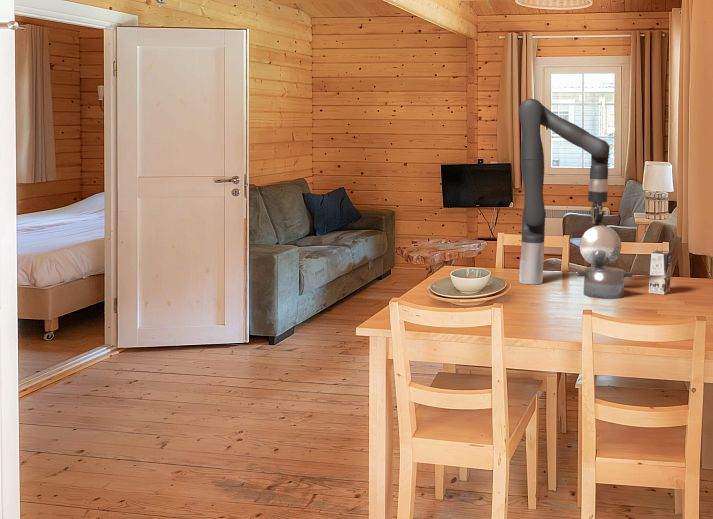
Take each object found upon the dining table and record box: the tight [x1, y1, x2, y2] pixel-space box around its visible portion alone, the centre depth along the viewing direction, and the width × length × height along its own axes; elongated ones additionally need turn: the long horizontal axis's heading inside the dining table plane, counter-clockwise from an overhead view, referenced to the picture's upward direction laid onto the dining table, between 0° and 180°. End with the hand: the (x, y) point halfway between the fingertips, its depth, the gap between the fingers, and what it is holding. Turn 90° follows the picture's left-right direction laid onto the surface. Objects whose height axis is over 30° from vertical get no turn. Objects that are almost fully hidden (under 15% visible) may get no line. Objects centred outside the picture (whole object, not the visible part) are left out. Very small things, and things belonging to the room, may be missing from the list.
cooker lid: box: [579, 224, 622, 266], centre depth 362 cm, size 16×16×4 cm
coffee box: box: [648, 250, 673, 295], centre depth 361 cm, size 9×6×16 cm
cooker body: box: [576, 265, 633, 300], centre depth 355 cm, size 21×17×10 cm
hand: (595, 233), depth 369 cm, fingers closed
